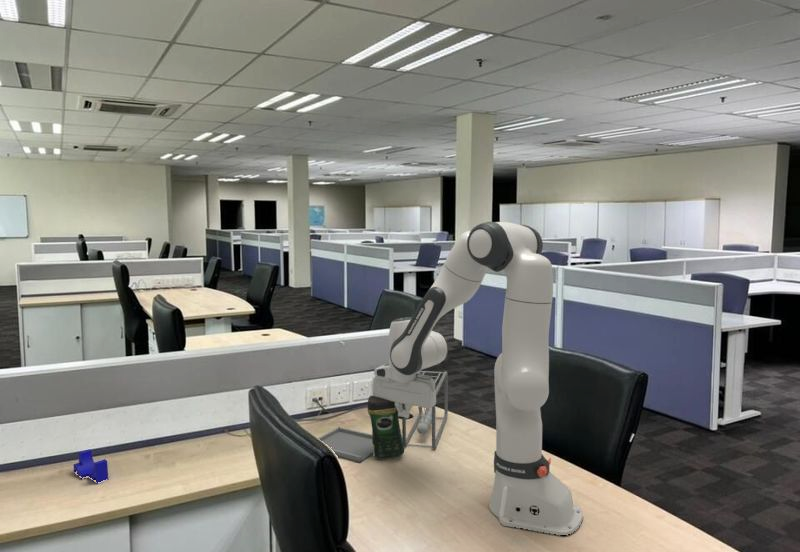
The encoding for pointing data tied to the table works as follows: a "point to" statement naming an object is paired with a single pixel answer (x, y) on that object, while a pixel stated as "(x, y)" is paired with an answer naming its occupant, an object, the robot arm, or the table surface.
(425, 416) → the newton's cradle
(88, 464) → the cable clip
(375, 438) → the coffee jar
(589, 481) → the table surface
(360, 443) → the shallow gray tray
